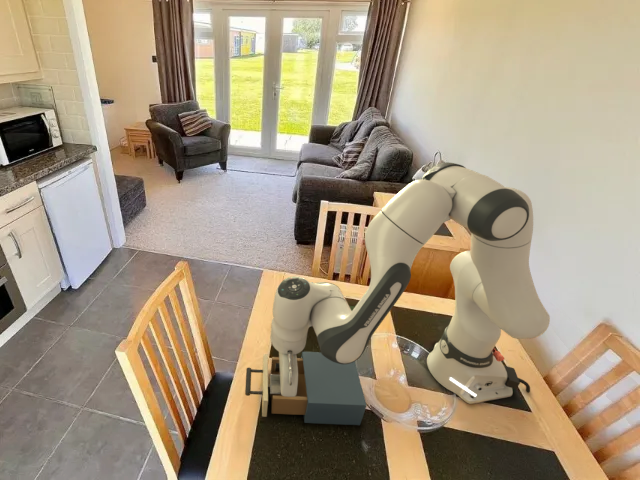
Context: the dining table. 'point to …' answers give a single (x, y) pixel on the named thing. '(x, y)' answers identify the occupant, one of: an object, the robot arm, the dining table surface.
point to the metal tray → (275, 383)
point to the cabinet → (332, 391)
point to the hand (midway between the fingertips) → (284, 369)
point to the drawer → (279, 403)
